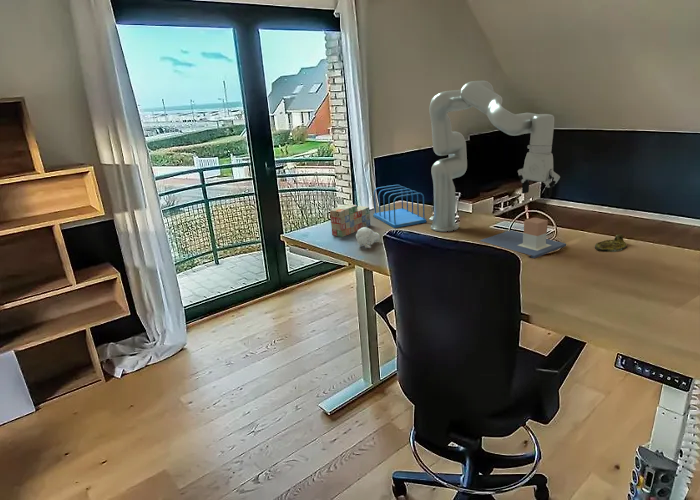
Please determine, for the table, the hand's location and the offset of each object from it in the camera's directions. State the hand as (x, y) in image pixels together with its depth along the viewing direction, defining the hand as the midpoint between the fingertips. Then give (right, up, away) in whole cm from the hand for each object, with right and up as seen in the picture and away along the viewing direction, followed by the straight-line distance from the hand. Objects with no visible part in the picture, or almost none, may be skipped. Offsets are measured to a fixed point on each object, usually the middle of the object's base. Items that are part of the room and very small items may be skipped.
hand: (536, 195), depth 178 cm
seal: (+29, -20, +2) cm, 36 cm away
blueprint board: (-2, -19, +11) cm, 22 cm away
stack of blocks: (-69, -12, +46) cm, 84 cm away
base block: (+2, -19, +6) cm, 20 cm away
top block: (+1, -14, +5) cm, 15 cm away
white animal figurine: (-62, -19, +23) cm, 69 cm away
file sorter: (-46, -6, +58) cm, 74 cm away
